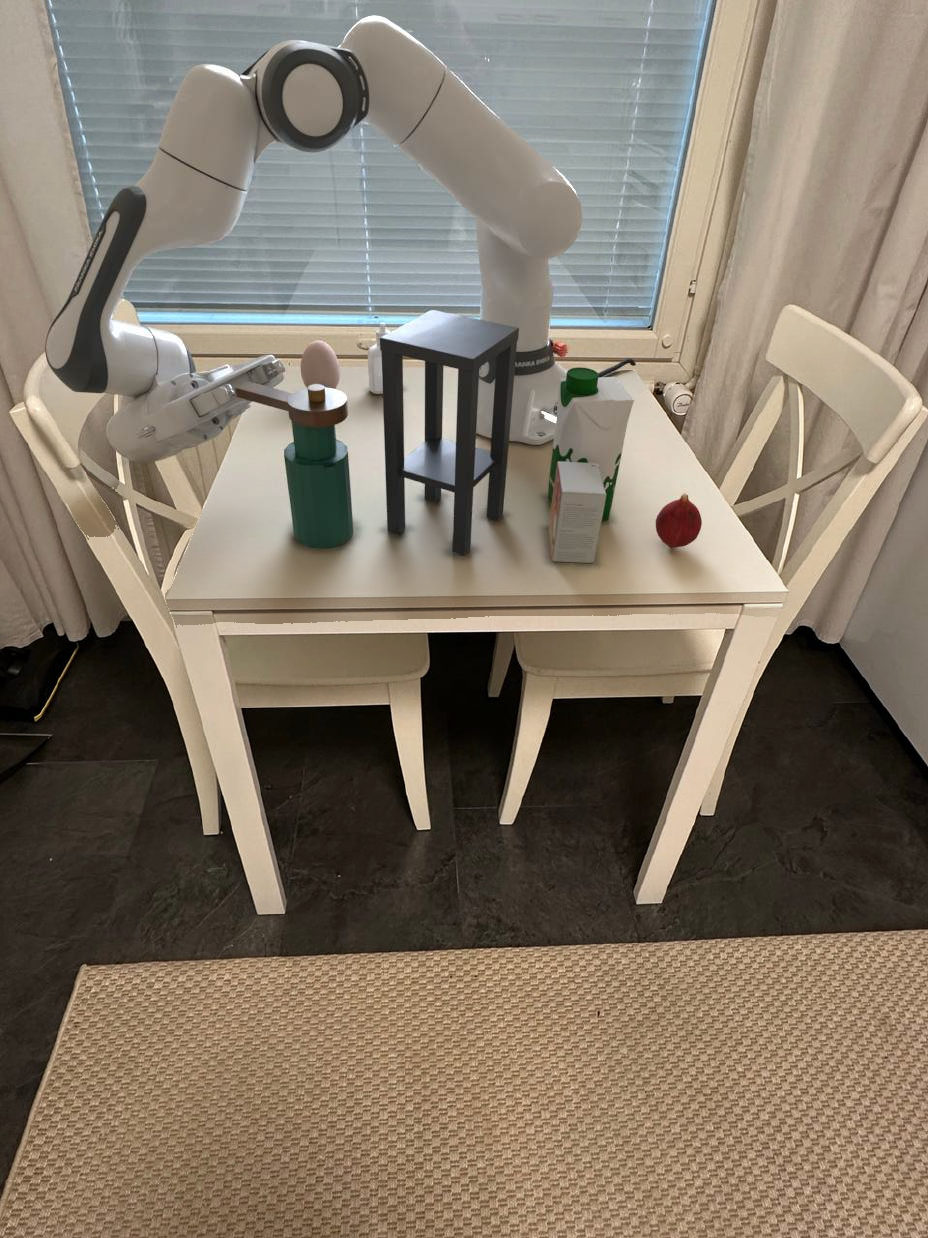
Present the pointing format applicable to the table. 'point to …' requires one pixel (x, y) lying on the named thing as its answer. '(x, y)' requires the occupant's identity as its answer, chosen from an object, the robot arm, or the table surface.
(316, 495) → the bottle
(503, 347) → the stand
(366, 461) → the table surface
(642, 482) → the table surface
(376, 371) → the white tall narrow container
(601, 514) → the small box
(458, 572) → the table surface
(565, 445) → the milk carton
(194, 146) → the robot arm
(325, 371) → the egg
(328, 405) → the lid
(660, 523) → the onion
